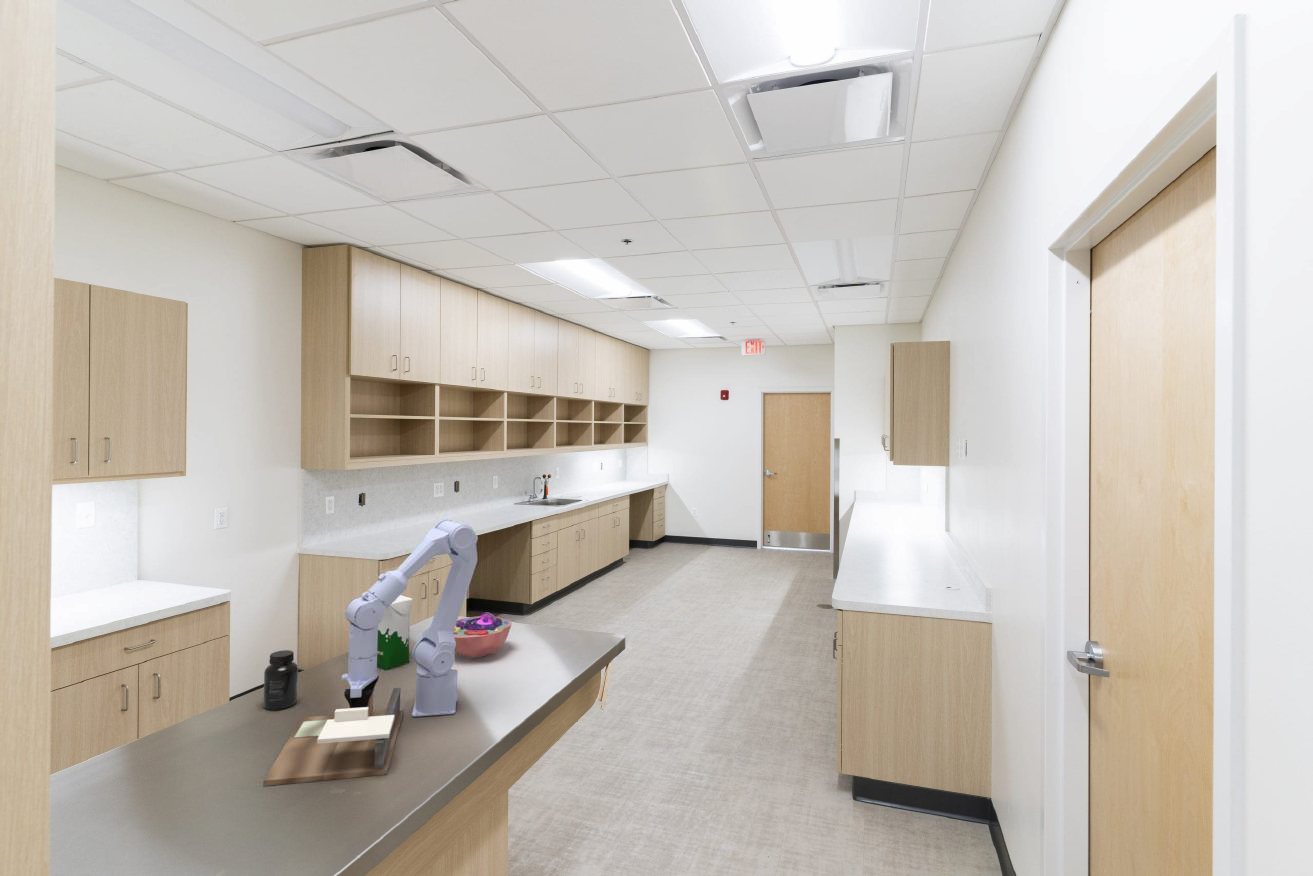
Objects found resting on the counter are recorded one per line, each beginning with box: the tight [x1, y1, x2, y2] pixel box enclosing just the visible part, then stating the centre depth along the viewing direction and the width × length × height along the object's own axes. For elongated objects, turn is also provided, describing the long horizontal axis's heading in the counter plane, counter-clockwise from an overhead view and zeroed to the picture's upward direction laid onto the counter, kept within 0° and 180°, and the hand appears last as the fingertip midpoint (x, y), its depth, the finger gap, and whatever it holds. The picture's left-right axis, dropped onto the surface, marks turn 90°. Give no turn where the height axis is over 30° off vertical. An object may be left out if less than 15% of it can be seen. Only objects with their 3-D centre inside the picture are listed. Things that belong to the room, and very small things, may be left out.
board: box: [262, 687, 404, 787], centre depth 131 cm, size 21×25×6 cm
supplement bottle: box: [263, 649, 299, 711], centre depth 148 cm, size 7×7×12 cm
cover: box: [317, 707, 395, 744], centre depth 124 cm, size 12×8×3 cm, turn 105°
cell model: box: [453, 611, 513, 659], centre depth 184 cm, size 17×20×11 cm
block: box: [368, 692, 374, 717], centre depth 137 cm, size 4×4×6 cm
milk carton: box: [377, 594, 414, 671], centre depth 174 cm, size 9×9×20 cm
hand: (361, 716), depth 138 cm, fingers closed on block, 4 cm apart
